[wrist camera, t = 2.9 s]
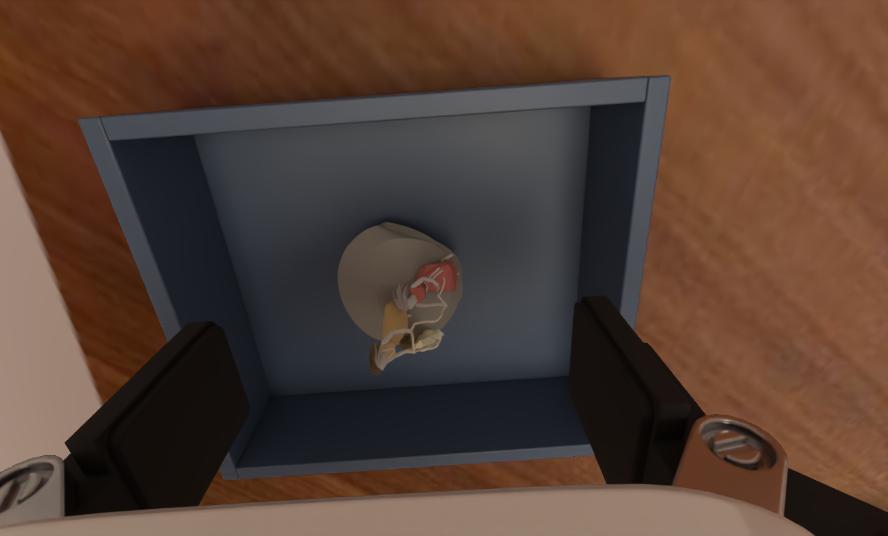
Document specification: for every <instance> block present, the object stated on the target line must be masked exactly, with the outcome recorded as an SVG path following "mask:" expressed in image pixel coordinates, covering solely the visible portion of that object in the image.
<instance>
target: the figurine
mask: <svg viewBox="0 0 888 536" xmlns="http://www.w3.org/2000/svg"><path fill="white" fill-rule="evenodd" d="M338 287H339V292H340V296H341V299H342V302H343V304H344V307H345V309H346V311H347V312H348V314H349V315H350V317H351V318H352V320H353V321H354V322H355V324H356V325H357V326H358V327H359V328H360V329H361V330H362V331H364V332H365V333H366V334H368V335H369V336H371V337H373V338H375V339H377V340H380V341H381V345H380V341H379V343H378V347H377V345H376V346H375V344H374V340H373V341H372V349H371V348H370V346H369V348H370V358H369V361H370V365H369V366H370V368H371V369H372V370H373V371H374V372H372V371H370V370H369V371H370V372H371V373H372V374H374V375H379V374H380V373H381V370H383V369H384V368H385V366H386V365H387V363H389V362H391V361H392V360H393V359H395V358H396V357H399V356H401V355H403V354H405V353H414V354H415V353H416V352H419V351H421V352H424V351H426V350H432V349H434V348H436V347H438V345H439V343H440V342H441V341H440V340H441V339H442V336H444V333H443V332H442V331H441V329H442V328H443V327H444V326H445V325H446V324H447V322H448V321H449V320H450V318H451V317H452V315H453V313H454V311H455V309H456V307H457V305H458V303H459V301H460V299H461V297H462V289H463V284H462V267H461V264H460V262H459V259H458V257H457V256H456V255H455V254H454V253H453V252H452V251H451V250H450V249H449V248H448V247H447V246H445V245H444V244H442V243H440V242H438V241H435V240H433V239H432V238H431V237H429V236H427V235H425V234H423V233H421V232H419V231H416V230H414V229H412V228H409V227H406V226H402V225H398V224H394V223H390V222H385V223H381V224H380V225H379V226H377V225H376V226H374V227H371V228H369V229H367V230H365V231H363V232H362V233H360V234H359V235H358V236H357V237H356V238H355V239H353V241H352V242H351V243H350V244H349V245H348V246H347V248H346V249H345V251H344V253H343V255H342V258H341V260H340V264H339V269H338ZM435 344H437V345H436V346H434V347H432V346H433V345H435ZM379 345H380V346H379ZM396 345H401V347H402V348H403V349H404V350H403V351H400V352H398V353H397V354H396V351H395V347H396ZM424 346H425V347H424ZM379 347H380V348H379ZM430 347H431V348H430ZM415 349H418V350H415ZM376 371H377V372H376ZM378 373H379V374H378Z"/></svg>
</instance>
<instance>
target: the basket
mask: <svg viewBox="0 0 888 536" xmlns="http://www.w3.org/2000/svg"><path fill="white" fill-rule="evenodd" d="M670 81H671V76H669V75H661V76H638V77H614V78H596V79H582V80H568V81H555V82H541V83H527V84H514V85H500V86H487V87H473V88H459V89H446V90H432V91H419V92H405V93H391V94H378V95H364V96H350V97H337V98H323V99H310V100H296V101H282V102H269V103H255V104H241V105H228V106H214V107H201V108H187V109H175V110H164V111H153V112H143V113H132V114H121V115H111V116H100V117H89V118H80V119H79V120H78V122H79V125H80V127H81V129H82V132H83V134H84V137H85V139H86V142H87V144H88V147H89V149H90V152H91V154H92V156H93V159H94V161H95V164H96V166H97V169H98V171H99V174H100V176H101V179H102V181H103V184H104V186H105V188H106V191H107V193H108V196H109V198H110V201H111V203H112V206H113V208H114V211H115V213H116V216H117V218H118V220H119V223H120V225H121V228H122V230H123V233H124V235H125V238H126V240H127V243H128V245H129V247H130V250H131V252H132V255H133V257H134V260H135V262H136V265H137V267H138V270H139V272H140V275H141V277H142V279H143V282H144V284H145V287H146V289H147V292H148V294H149V297H150V299H151V302H152V304H153V306H154V309H155V311H156V314H157V316H158V319H159V321H160V324H161V326H162V329H163V331H164V334H165V336H166V338H167V341H168V342H169V341H170V340H171V339H172V338H173V337H174V336H175V335H176V334H177V333H178V332H179V331H180V330H181V329H182V328H183V327H184V326H185V325H186V324H188V323H191V322H205V321H213V322H215V323H216V324H217V326H221V327H222V328H223V329H224V331H225V334H226V337H227V340H228V343H229V346H230V349H231V352H232V355H233V358H234V361H235V364H236V366H237V369H238V372H239V375H240V378H241V381H242V384H243V387H244V390H245V393H246V396H247V399H248V402H249V406H250V410H249V415H248V418H247V420H246V421H245V423H244V425H243V427H242V429H241V430H240V432H239V434H238V436H237V437H236V439H235V441H234V443H233V445H232V446H231V448H230V450H229V452H228V453H227V455H226V457H225V459H224V461H223V462H222V464H221V466H220V468H219V469H220V471H221V474H222V476H223V479H224V480H237V479H252V478H267V477H282V476H297V475H311V474H326V473H341V472H355V471H370V470H385V469H399V468H414V467H429V466H443V465H458V464H473V463H487V462H502V461H517V460H531V459H546V458H561V457H575V456H590V455H594V452H593V450H592V448H591V445H590V443H589V440H588V438H587V436H586V433H585V431H584V429H583V426H582V424H581V421H580V419H579V417H578V414H577V412H576V409H575V407H574V405H573V402H572V400H571V397H570V394H569V388H568V380H569V367H570V353H571V340H572V327H573V313H574V305H575V303H577V302H581V299H582V297H585V296H601V295H606V296H607V297H608V298H609V300H610V301H611V302H612V304H613V305H614V306H615V307H616V309H617V310H618V311H619V312H620V314H621V315H622V316H623V318H624V319H625V320H626V321H627V323H628V324H629V325H630V326H631V328H632V329H633V330H634V332H635V325H636V318H637V311H638V304H639V297H640V290H641V283H642V276H643V269H644V262H645V255H646V248H647V241H648V234H649V227H650V220H651V214H652V207H653V200H654V193H655V186H656V179H657V172H658V165H659V158H660V151H661V144H662V137H663V130H664V123H665V116H666V109H667V102H668V95H669V88H670ZM385 222H390V223H394V224H398V225H402V226H406V227H409V228H412V229H414V230H416V231H419V232H421V233H423V234H425V235H427V236H429V237H431V238H432V239H433V240H435V241H438V242H440V243H442V244H444V245H445V246H447V247H448V248H449V249H450V250H451V251H452V252H453V253H454V254H455V255H456V256H457V257H458V259H459V262H460V264H461V267H462V284H463V289H462V297H461V299H460V301H459V303H458V305H457V307H456V309H455V311H454V313H453V315H452V317H451V318H450V320H449V321H448V322H447V324H446V325H445V326H444V327H443V328H442V329H441V331H442V332H443V333H444V336H442V339H441V340H440V341H441V342H440V343H439V345H438V347H436V348H434V349H432V350H426V351H424V352H421V351H419V352H416V353H415V354H414V353H405V354H403V355H401V356H399V357H396V358H395V359H393V360H392V361H391V362H389V363H387V365H386V366H385V368H384V369H383V370H381V373H380V374H379V373H378V374H379V375H374V374H372V373H371V372H370V371H372V372H374V371H373V370H372V369H371V368H370V366H369V365H370V361H369V358H370V348H371V349H372V341H373V340H374V344H375V346H376V345H377V347H378V343H379V341H380V340H377V339H375V338H373V337H371V336H369V335H368V334H366V333H365V332H364V331H362V330H361V329H360V328H359V327H358V326H357V325H356V324H355V322H354V321H353V320H352V318H351V317H350V315H349V314H348V312H347V311H346V309H345V307H344V304H343V302H342V299H341V296H340V292H339V287H338V269H339V264H340V260H341V258H342V255H343V253H344V251H345V249H346V248H347V246H348V245H349V244H350V243H351V242H352V241H353V239H355V238H356V237H357V236H358V235H359V234H360V233H362V232H363V231H365V230H367V229H369V228H371V227H374V226H376V225H377V226H379V225H380V224H381V223H385ZM380 345H381V341H380ZM380 345H379V346H380ZM436 345H437V344H435V345H433V346H432V347H434V346H436ZM369 346H370V348H369ZM424 347H425V346H424ZM379 348H380V347H379ZM430 348H431V347H430ZM403 350H404V349H403V348H402V347H401V345H396V347H395V351H396V354H397V353H398V352H400V351H403ZM415 350H418V349H415ZM369 370H370V371H369ZM376 372H377V371H376Z"/></svg>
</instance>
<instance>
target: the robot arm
mask: <svg viewBox="0 0 888 536" xmlns="http://www.w3.org/2000/svg"><path fill="white" fill-rule="evenodd" d="M568 388H569V394H570V397H571V400H572V402H573V405H574V407H575V409H576V412H577V414H578V417H579V419H580V421H581V424H582V426H583V429H584V431H585V433H586V436H587V438H588V440H589V443H590V445H591V448H592V450H593V452H594V455H595V457H596V459H597V462H598V464H599V467H600V469H601V471H602V474H603V476H604V479H605V481H606V483H607V484H589V485H563V486H539V487H517V488H498V489H479V490H460V491H442V492H423V493H405V494H387V495H370V496H353V497H336V498H319V499H303V500H286V501H270V502H254V503H239V504H223V505H208V506H198V505H199V503H200V501H201V500H202V498H203V496H204V494H205V493H206V491H207V489H208V487H209V485H210V484H211V482H212V480H213V478H214V477H215V475H216V473H217V471H218V469H219V468H220V466H221V464H222V462H223V461H224V459H225V457H226V455H227V453H228V452H229V450H230V448H231V446H232V445H233V443H234V441H235V439H236V437H237V436H238V434H239V432H240V430H241V429H242V427H243V425H244V423H245V421H246V420H247V418H248V415H249V410H250V406H249V402H248V399H247V396H246V393H245V390H244V387H243V384H242V381H241V378H240V375H239V372H238V369H237V366H236V364H235V361H234V358H233V355H232V352H231V349H230V346H229V343H228V340H227V337H226V334H225V331H224V329H223V328H222V327H221V326H217V324H216V323H215V322H213V321H205V322H191V323H188V324H186V325H185V326H184V327H183V328H182V329H181V330H180V331H179V332H178V333H177V334H176V335H175V336H174V337H173V338H172V339H171V340H170V341H169V342H168V343H167V344H166V345H165V346H164V347H163V348H161V349H160V350H159V351H158V352H157V353H156V354H155V355H154V356H153V357H152V358H151V359H150V360H149V361H148V362H147V363H146V364H145V365H144V366H143V367H142V368H141V369H140V370H139V371H138V372H137V373H136V374H135V375H134V376H133V377H132V378H131V379H130V380H129V381H128V382H127V383H125V384H124V385H123V386H122V387H121V388H120V389H119V390H118V391H117V392H116V393H115V394H114V395H113V396H112V397H111V398H110V399H109V400H108V401H107V402H106V403H105V404H104V405H103V406H102V407H101V408H100V409H99V410H98V411H97V412H96V413H95V414H94V415H93V416H92V417H91V418H90V419H88V421H86V422H85V423H84V424H83V425H82V426H81V427H80V428H79V429H78V430H77V431H76V432H75V433H74V434H73V435H72V436H71V437H70V438H69V439H68V440H67V441H66V442H65V444H66V446H67V448H68V449H69V451H70V452H71V454H70V455H69V456H68V457H67V458H66V459H65V460H64V461H63V460H62V458H60V457H57V456H55V455H44V456H40V457H35V458H31V459H28V460H26V461H23V462H21V463H18V464H16V465H14V466H12V467H10V468H8V469H6V470H4V471H2V472H0V536H888V512H886V511H883V510H881V509H879V508H877V507H874V506H872V505H870V504H868V503H865V502H863V501H861V500H859V499H857V498H854V497H852V496H850V495H848V494H845V493H843V492H841V491H839V490H836V489H834V488H832V487H830V486H827V485H825V484H823V483H821V482H818V481H816V480H814V479H812V478H810V477H807V476H805V475H803V474H801V473H798V472H796V471H794V470H792V469H789V468H788V460H787V455H786V453H785V451H784V450H783V448H782V446H781V445H780V443H779V442H777V441H776V440H775V439H774V438H773V437H772V436H771V435H770V434H769V433H767V432H766V431H764V430H763V429H761V428H760V427H758V426H756V425H754V424H752V423H750V422H748V421H745V420H743V419H740V418H736V417H733V416H729V415H719V414H714V415H706V414H705V413H704V412H703V411H702V409H701V408H700V407H699V406H698V404H697V403H696V402H695V401H694V399H693V398H692V397H691V396H690V394H689V393H688V392H687V391H686V389H685V388H684V387H683V386H682V385H681V383H680V382H679V381H678V380H677V378H676V377H675V376H674V375H673V373H672V372H671V371H670V370H669V368H668V367H667V366H666V365H665V363H664V362H663V361H662V360H661V358H660V357H659V356H658V355H657V353H656V352H655V351H654V350H653V348H652V347H651V346H650V345H649V344H648V343H644V342H642V340H641V339H640V338H639V337H638V335H637V334H636V333H635V332H634V330H633V329H632V328H631V326H630V325H629V324H628V323H627V321H626V320H625V319H624V318H623V316H622V315H621V314H620V312H619V311H618V310H617V309H616V307H615V306H614V305H613V304H612V302H611V301H610V300H609V298H608V297H607V296H606V295H601V296H585V297H582V299H581V302H577V303H575V305H574V313H573V327H572V340H571V353H570V367H569V380H568Z"/></svg>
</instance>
